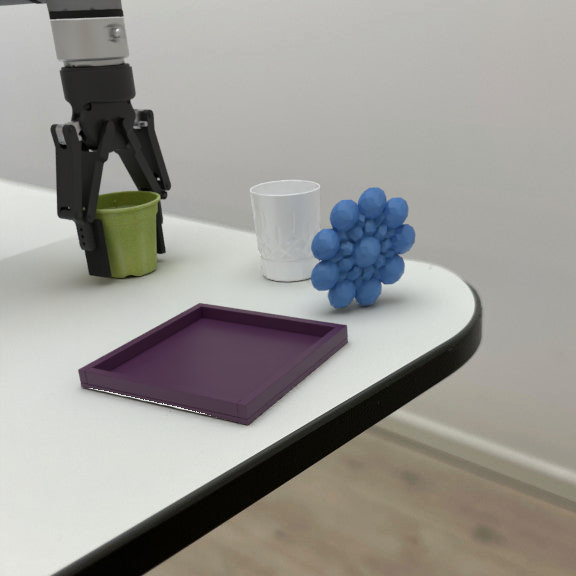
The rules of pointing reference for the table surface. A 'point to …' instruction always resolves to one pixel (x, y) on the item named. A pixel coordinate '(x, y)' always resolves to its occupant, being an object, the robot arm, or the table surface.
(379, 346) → the table surface
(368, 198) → the blue flower ornament
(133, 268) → the plant pot
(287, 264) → the white cup
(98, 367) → the tray
